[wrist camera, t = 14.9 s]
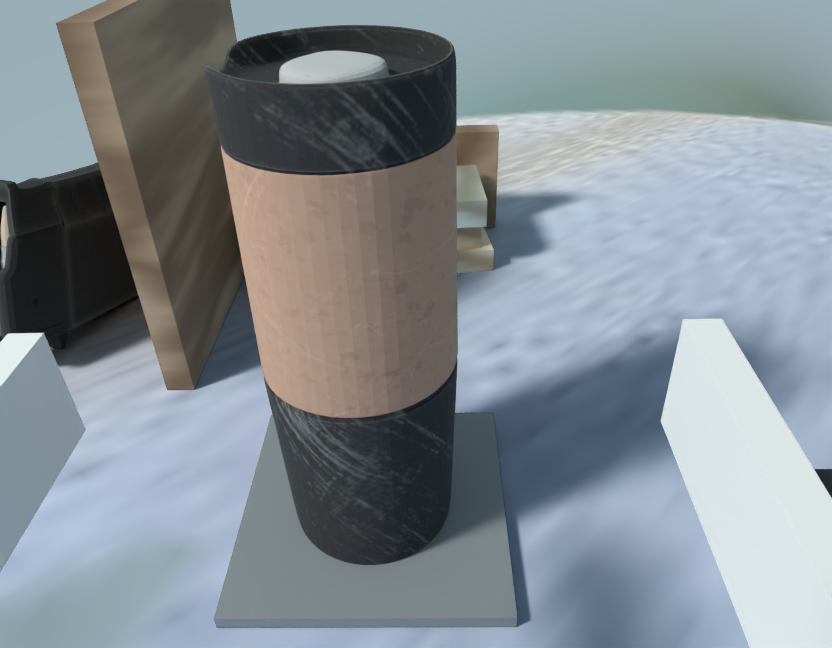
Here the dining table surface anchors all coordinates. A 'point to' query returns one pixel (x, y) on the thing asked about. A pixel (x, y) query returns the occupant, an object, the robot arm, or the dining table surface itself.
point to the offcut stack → (472, 223)
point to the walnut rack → (179, 162)
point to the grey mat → (384, 583)
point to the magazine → (59, 255)
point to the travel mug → (351, 270)
